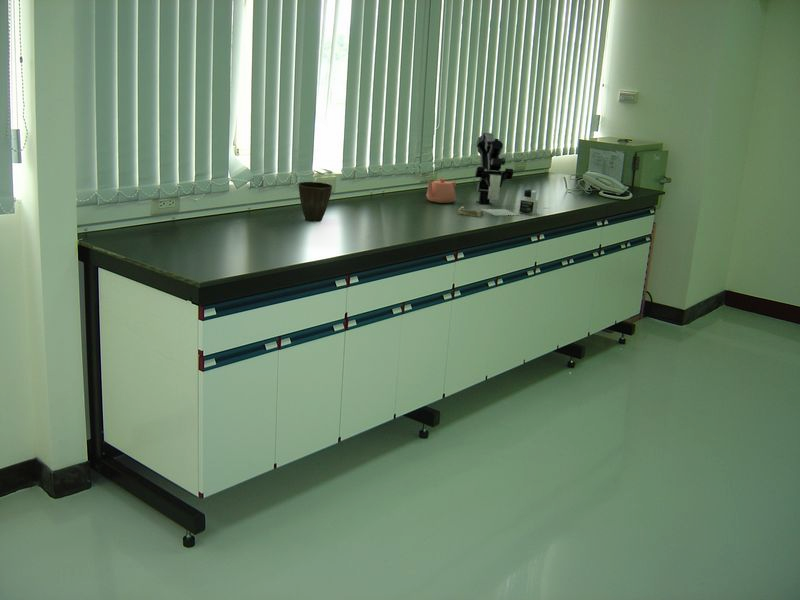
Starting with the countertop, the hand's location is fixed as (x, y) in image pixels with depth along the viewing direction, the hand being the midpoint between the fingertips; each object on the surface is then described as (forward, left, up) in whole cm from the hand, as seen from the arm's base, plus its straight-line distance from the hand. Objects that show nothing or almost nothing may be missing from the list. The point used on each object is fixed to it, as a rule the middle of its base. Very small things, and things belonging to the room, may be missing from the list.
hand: (495, 186), depth 427 cm
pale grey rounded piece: (0, 0, -7) cm, 7 cm away
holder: (+2, -14, -13) cm, 19 cm away
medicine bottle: (+1, +20, -14) cm, 25 cm away
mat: (0, +4, -13) cm, 14 cm away
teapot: (-30, -16, -14) cm, 36 cm away
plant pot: (+12, -98, -14) cm, 99 cm away
